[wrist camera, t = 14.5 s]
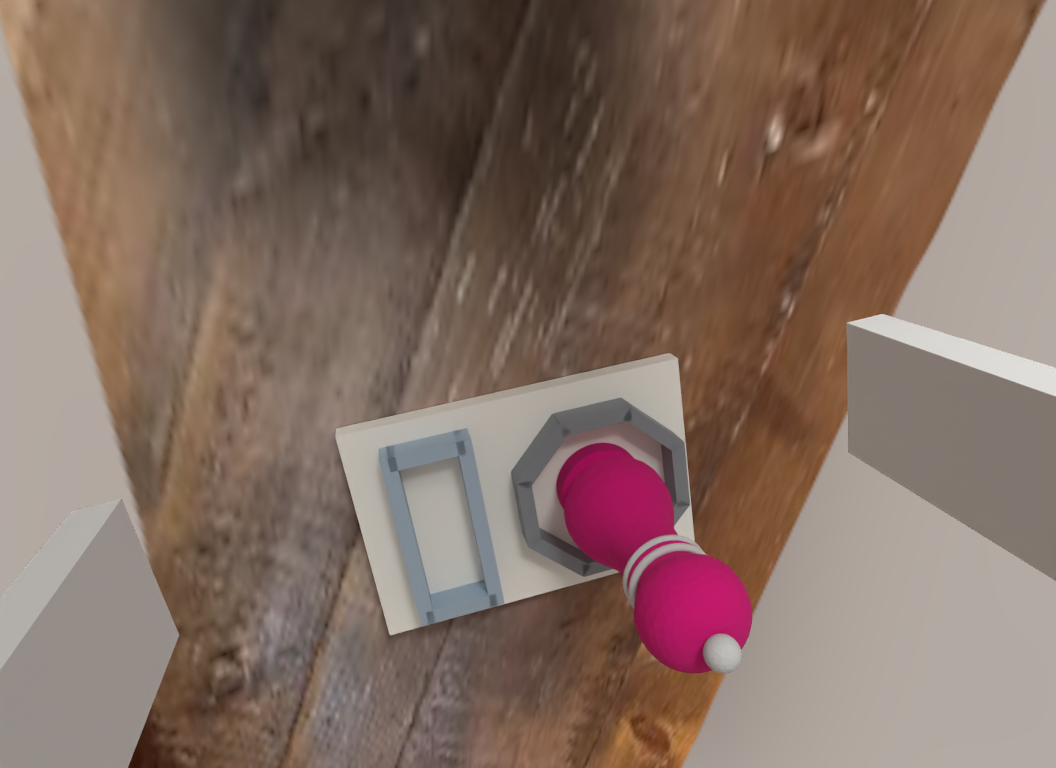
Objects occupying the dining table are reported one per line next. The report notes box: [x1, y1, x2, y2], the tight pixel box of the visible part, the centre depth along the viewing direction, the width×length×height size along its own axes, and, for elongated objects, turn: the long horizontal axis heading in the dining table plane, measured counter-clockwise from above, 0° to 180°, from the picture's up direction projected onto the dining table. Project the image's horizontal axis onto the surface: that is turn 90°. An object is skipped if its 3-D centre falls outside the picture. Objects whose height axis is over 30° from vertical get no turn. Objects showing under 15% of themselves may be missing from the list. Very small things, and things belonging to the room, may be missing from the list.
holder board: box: [335, 353, 695, 635], centre depth 50 cm, size 16×24×4 cm, turn 99°
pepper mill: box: [556, 443, 752, 673], centre depth 42 cm, size 7×7×20 cm
